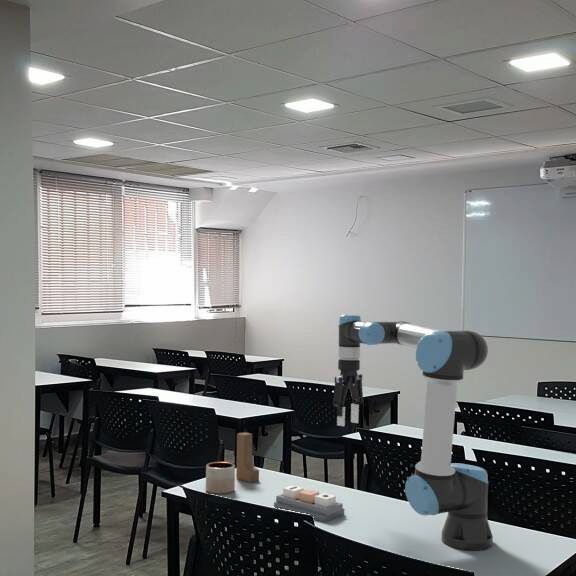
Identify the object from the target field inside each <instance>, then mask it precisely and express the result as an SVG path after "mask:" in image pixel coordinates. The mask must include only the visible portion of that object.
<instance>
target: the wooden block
mask: <svg viewBox="0 0 576 576" xmlns="http://www.w3.org/2000/svg"><path fill="white" fill-rule="evenodd" d="M235 472H236V473H235V475H236V476H235V477H236V479H238V480H241V481H245V482H247V483H255V482H256V483H257V482H260V481H259V480H260V470H259V469H258V468H256V467H255V466H254V463H253V433H251V432H250V433H249V432H245V431H244V432H238V433H236V470H235Z"/></svg>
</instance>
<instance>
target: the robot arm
mask: <svg viewBox="0 0 576 576" xmlns="http://www.w3.org/2000/svg"><path fill="white" fill-rule="evenodd" d="M338 322H339V323H338V358H339V359H338V361H337V369H338V370H339V371H340V374H339V376H334V389H333V400H332V405H333V406H334V407H336V416H337V417H336V426H339V427H345V424H346V420H345V419H346V407H345V401H346V398H347V393H348V390H349V392H350V396H351V399H352V400H351V401H352V403H351V404H350V422H351V423H353V424H354V423H355V424H359V412H360V405H362V403H363V401H364V395H363V394H364V393H363V374H361V373H358V371H359V370H361V369H360V368H361V366H360V365H361V364H360V363H361V360H359V359H360V358H361V344H363V345H368V346H370V345H371V346H375V345H381V344H382V345H383V344H385V345H386V344H394V345H395V344H397V345H401V346H406V347H409V348H410V347H411V348H413V349H414V348H415V361H416V362H417V366H418V368H419V369H420V370H421V371H422V376H423V378H424V379H425V380H426V382H427V383H426V394H425V404H424V405H425V406H424V407H425V408H424V420H423V421H424V422H423V429H422V431H423V433H422V445H421V456H420V461H418V462H417V463H416V464H415V465H414V467H415V468H414V474H413V475H411V476H408V478H407V479H406V481H405V485H404V486H405V488H404V489H405V496H406V499H407V502H408V503H409V505H410V507H411V508H412V509H413V511H414V512H416V513H417V514H419V515H421V516H436V515H439V514H444V513H447V516H446V519H445V522H444V524H443V528H442V530H441V541H442V543H444V544H445V545H447V546H449V547H452V548H456V549H460V550H465V549H466V550H467V551H478V550H477V549H483V550H486V548H487V549H489V548H488V547H490V548H491V547H492V546H493V545H492V544H494V543H493V542H494V541H493V540H494V539H493V533H492V530H491V526H490V524H489V520H488V501H489V499H488V495H489V480H488V472H487V470H486V469H484V468H483V467H481V466H476V465H471V464H467V463H466V464H465V463H458V462H457V463H456V462H455V463H454V462H452V449H453V439H454V428H455V417H456V416H455V414H456V413H455V412H456V401H457V392H458V391H457V390H458V385H459V383H461V382H462V381H463V379H464V373H465V371H471V370H474V369H477V368H480V366H481V365H483V364H484V362H485V361H486V360H487V358H488V353H489V346H488V343H487V341H486V339H485V338H484V337H483V336H482V335H481V334H480V333H479V332H475V331H472V330H443V329H437V328H434V327H433V328H432V327H426V326H422V325H418V324H417V325H416V324H412V323H411V322H408V321H401V320H399V321H362V320H361V316H360V315H357V314H341V315H340V316H339V320H338Z"/></svg>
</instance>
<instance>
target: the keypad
mask: <svg viewBox="0 0 576 576" xmlns="http://www.w3.org/2000/svg"><path fill="white" fill-rule="evenodd" d="M275 497H276V498H275V501H274V502H273V508H274V507H275V508H280V509H285V510H291V511H295V512H300V513H306V514H310V515H312V516H313V517H314V519H313V520H315V521H319V522H322V523H327V522H330V521H331V520H334V519H336V518H340V517H341V516H344V515H345V508H343V506H344V505H343V503H341V502H337V501H336V505H334V506H331V507H328V508H325V507H322V506H318V505H315V502H314V503H311V504H310V503H306V502H302V501H299V498H298V499H291V498H287V497H283V493H282V494H278V495H276V496H275ZM275 508H274V509H275Z"/></svg>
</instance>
